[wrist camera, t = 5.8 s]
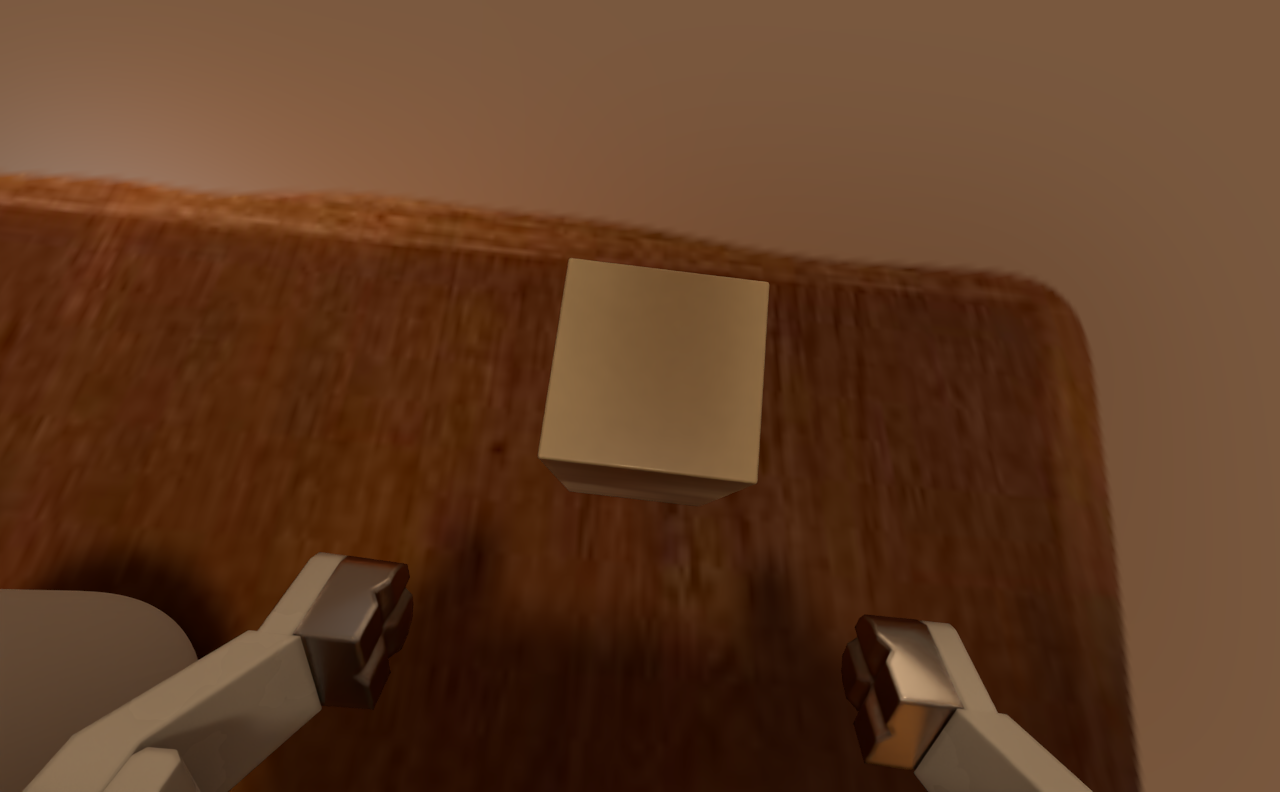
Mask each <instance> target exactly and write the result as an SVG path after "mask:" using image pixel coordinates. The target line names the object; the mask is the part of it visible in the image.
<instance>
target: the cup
mask: <svg viewBox="0 0 1280 792" xmlns="http://www.w3.org/2000/svg"><path fill="white" fill-rule="evenodd" d="M196 661H198V659H197V655H196V653H195V651H194V648H193V646H192V644H191V642H190V640H189V639H188V637H187V635H186V634H185V633H184V631H183V630H182V629H181V627H180V626H179V625H178V624H177V623H176V622H175V621H174V620H173V619H172V618H170V617H169V616H168V615H167V614H165V613H164V612H162V611H161V610H159V609H157V608H156V607H154V606H152V605H150V604H148V603H145V602H143V601H140V600H137V599H134V598H131V597H127V596H122V595H117V594H112V593H104V592H92V591H66V590H18V589H0V792H22V791H23V790H24V789H25V788H26V787H27V786H28V784H29V783H30V782H31V781H32V780H33V779H34V778H35V777H36V775H37V774H38V773H39V772H40V771H41V770H42V769H43V768H44V766H45V765H46V764H47V763H48V762H49V761H50V760H51V759H52V757H53V756H54V755H55V754H56V753H57V752H58V751H59V750H60V749H61V747H62V746H63V745H64V744H65V743H66V742H67V741H68V740H69V738H70V737H71V736H72V735H74V734H75V733H77V732H79V731H80V730H82V729H84V728H85V727H87V726H89V725H90V724H92V723H94V722H95V721H97V720H99V719H100V718H102V717H104V716H105V715H107V714H109V713H110V712H112V711H114V710H115V709H117V708H119V707H121V706H122V705H124V704H126V703H127V702H129V701H131V700H132V699H134V698H136V697H137V696H139V695H141V694H142V693H144V692H146V691H147V690H149V689H151V688H152V687H154V686H156V685H157V684H159V683H161V682H162V681H164V680H166V679H167V678H169V677H171V676H173V675H174V674H176V673H178V672H179V671H181V670H183V669H184V668H186V667H188V666H189V665H191V664H193V663H194V662H196Z"/></svg>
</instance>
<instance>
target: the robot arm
mask: <svg viewBox="0 0 1280 792" xmlns="http://www.w3.org/2000/svg"><path fill="white" fill-rule="evenodd" d="M409 578H410V575H409V570H408V565H407V564H403V563H397V562H390V561H383V560H375V559H368V558H361V557H354V556H345V555H337V554H330V553H322V552H319V553H318V554H316V555H315V556H313V557H312V558H311V559H310V560H309V561H308V562H307V564H306V565H305V567H304V568H303V569H302V571H301V572H300V573H299V575H298V576H297V577H296V579H295V580H294V582H293V583H292V584H291V586H290V587H289V588H288V590H287V591H286V593H285V594H284V595H283V597H282V598H281V599H280V601H279V602H278V603H277V605H276V606H275V608H274V609H273V610H272V612H271V613H270V614H269V616H268V617H267V619H266V620H265V621H264V623H263V624H262V625H261V627H260V628H259V630H258V631H251V630H248V631H246V632H245V633H243V634H241V635H240V636H238V637H236V638H235V639H233V640H231V641H230V642H228V643H226V644H225V645H223V646H221V647H220V648H218V649H216V650H214V651H213V652H211V653H209V654H208V655H206V656H204V657H203V658H201V659H199V660H198V661H196V662H194V663H193V664H191V665H189V666H188V667H186V668H184V669H183V670H181V671H179V672H178V673H176V674H174V675H173V676H171V677H169V678H167V679H166V680H164V681H162V682H161V683H159V684H157V685H156V686H154V687H152V688H151V689H149V690H147V691H146V692H144V693H142V694H141V695H139V696H137V697H136V698H134V699H132V700H131V701H129V702H127V703H126V704H124V705H122V706H121V707H119V708H117V709H115V710H114V711H112V712H110V713H109V714H107V715H105V716H104V717H102V718H100V719H99V720H97V721H95V722H94V723H92V724H90V725H89V726H87V727H85V728H84V729H82V730H80V731H79V732H77V733H75V734H74V735H72V736H71V737H70V738H69V740H68V741H67V742H66V743H65V744H64V745H63V746H62V747H61V749H60V750H59V751H58V752H57V753H56V754H55V755H54V756H53V757H52V759H51V760H50V761H49V762H48V763H47V764H46V765H45V766H44V768H43V769H42V770H41V771H40V772H39V773H38V774H37V775H36V777H35V778H34V779H33V780H32V781H31V782H30V783H29V784H28V786H27V787H26V788H25V789H24V790H23V791H22V792H228V791H229V790H231V789H232V788H233V787H234V786H235V785H236V784H237V783H238V782H240V781H241V780H242V779H243V778H244V777H245V776H246V775H248V774H249V773H250V772H251V771H252V770H253V769H254V768H255V767H257V766H258V765H259V764H260V763H261V762H262V761H263V760H265V759H266V758H267V757H268V756H269V755H270V754H271V753H272V752H274V751H275V750H276V749H277V748H278V747H279V746H280V745H282V744H283V743H284V742H285V741H286V740H287V739H288V738H290V737H291V736H292V735H293V734H294V733H295V732H296V731H297V730H299V729H300V728H301V727H302V726H303V725H304V724H305V723H307V722H308V721H309V720H310V719H311V718H312V717H313V716H314V715H316V714H317V713H318V712H319V711H320V710H321V709H322V706H333V707H345V708H358V709H370V710H374V708H375V705H376V703H377V701H378V699H379V697H380V695H381V692H382V690H383V688H384V686H385V684H386V682H387V680H388V677H389V675H390V673H391V671H390V666H389V660H388V659H389V658H390V657H391V656H393V655H394V654H396V653H397V652H398V651H400V650H401V649H402V647H403V645H404V642H405V640H406V638H407V635H408V633H409V629H410V625H411V621H412V617H413V605H414V604H413V596H412V594H411V593H410V592H409V591H408V590H407V589H406V588H405V587H406V584H407V582H408V580H409ZM855 630H856V633H857V637H858V638H856V639H854V640H853V641H851V642H849V643H847V646H846V648H845V651H844V653H843V656H842V666H841V674H842V683H843V687H844V691H845V695H846V698H847V700H848V701H849V702H850V703H851V704H852V705H853V706H854V707H855V708H856V710H857V711H858V714H857V716H856V719H855V721H854V723H853V724H854V728H855V731H856V735H857V739H858V742H859V746H860V749H861V753H862V756H863V760H864V763H866V764H873V765H880V766H888V767H895V768H902V769H909V770H915V772H914V774H915V775H916V777H917V778H918V779H919V780H920V782H921V783H922V784H923V786H924V787H925V788H926V790H927V791H928V792H1093V791H1092V790H1090V789H1089V788H1088V787H1087V786H1086V785H1085V784H1084V783H1083V782H1082V781H1080V780H1079V779H1078V778H1077V777H1076V776H1075V775H1074V774H1073V773H1072V772H1070V771H1069V770H1068V769H1067V768H1066V767H1065V766H1064V765H1063V764H1062V763H1060V762H1059V761H1058V760H1057V759H1056V758H1055V757H1054V756H1053V755H1052V754H1050V753H1049V752H1048V751H1047V750H1046V749H1045V748H1044V747H1043V746H1041V745H1040V744H1039V743H1038V742H1037V741H1036V740H1035V739H1034V738H1033V737H1031V736H1030V735H1029V734H1028V733H1027V732H1026V731H1025V730H1024V729H1023V728H1021V727H1020V726H1019V725H1018V724H1017V723H1016V722H1015V721H1014V720H1013V719H1011V718H1010V717H1009V716H1008V715H1007V714H1001V713H998V712H997V710H996V708H995V706H994V704H993V702H992V700H991V698H990V696H989V694H988V692H987V690H986V688H985V687H984V685H983V683H982V681H981V679H980V677H979V675H978V673H977V671H976V669H975V667H974V665H973V663H972V661H971V659H970V657H969V655H968V653H967V651H966V649H965V647H964V645H963V643H962V641H961V639H960V637H959V635H958V633H957V632H956V630H955V629H954V628H953V627H952V626H951V625H950V624H947V623H938V622H929V621H918V620H915V619H905V618H895V617H885V616H875V615H863V616H862V617H860V618H859V620H858V622H857V624H856V626H855Z"/></svg>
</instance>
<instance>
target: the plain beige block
mask: <svg viewBox="0 0 1280 792" xmlns="http://www.w3.org/2000/svg"><path fill="white" fill-rule="evenodd" d="M768 298H769V283H768V282H762V281H754V280H745V279H737V278H729V277H721V276H713V275H705V274H696V273H688V272H680V271H672V270H664V269H656V268H647V267H639V266H631V265H623V264H615V263H607V262H599V261H590V260H582V259H574V258H570V259H569V260H568V266H567V273H566V279H565V285H564V292H563V298H562V304H561V311H560V317H559V323H558V330H557V336H556V342H555V349H554V355H553V361H552V368H551V374H550V380H549V387H548V393H547V399H546V406H545V412H544V418H543V425H542V431H541V437H540V444H539V450H538V458H539V459H540V460H541V461H542V462H543V464H544V465H545V466H546V467H547V468H548V469H549V470H550V471H551V472H552V473H553V474H554V475H555V476H556V477H557V479H558V480H559V481H560V482H561V483H562V484H563V485H564V486H565V487H566V488H567V489H568V490H569V491H572V492H580V493H589V494H597V495H606V496H615V497H623V498H632V499H640V500H649V501H657V502H666V503H674V504H683V505H691V506H702V505H704V504H707V503H709V502H712V501H714V500H717V499H719V498H722V497H724V496H726V495H729V494H731V493H734V492H736V491H739V490H741V489H744V488H746V487H749V486H751V485H754V484H756V483H757V479H758V463H759V446H760V430H761V413H762V397H763V380H764V364H765V347H766V331H767V314H768Z"/></svg>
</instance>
